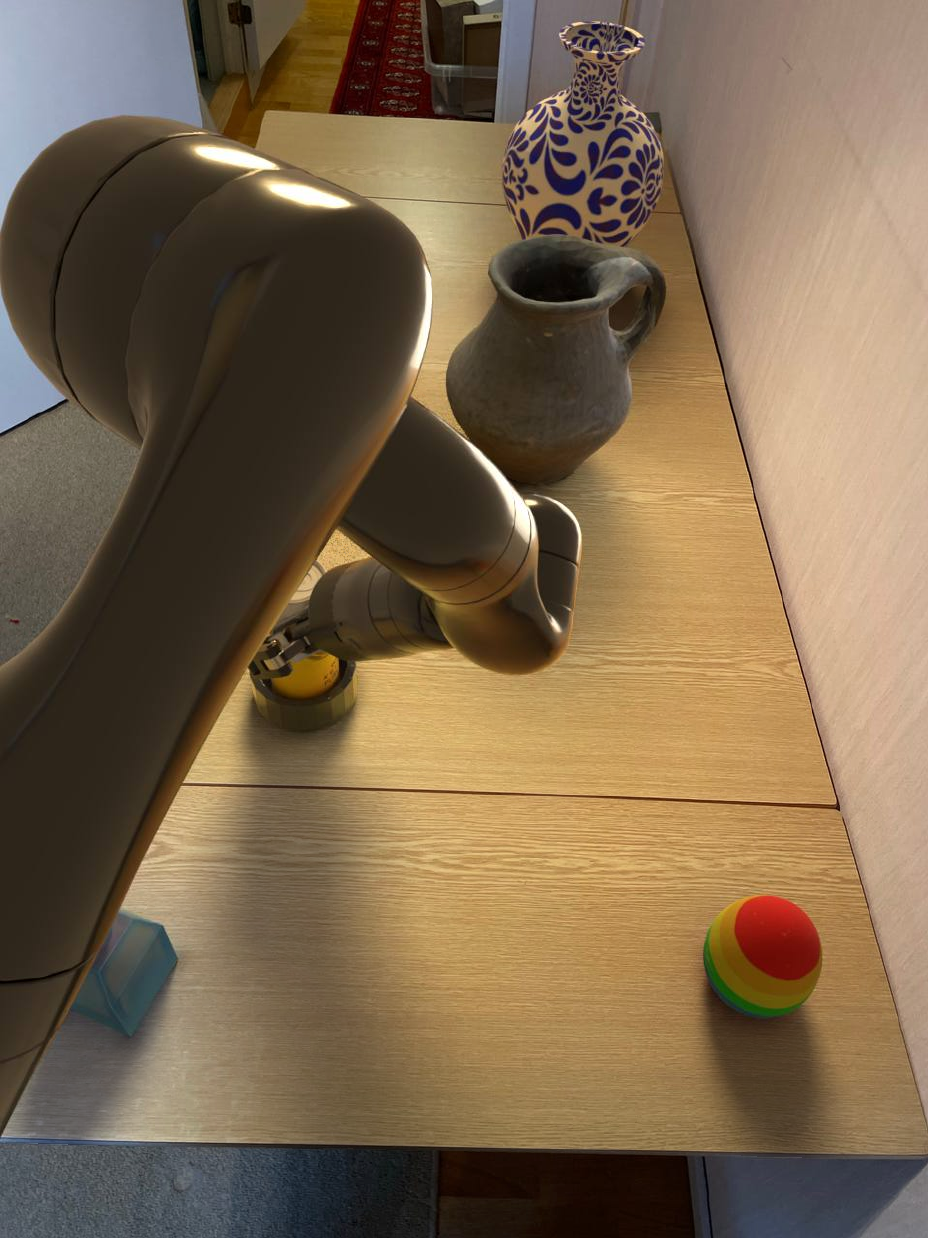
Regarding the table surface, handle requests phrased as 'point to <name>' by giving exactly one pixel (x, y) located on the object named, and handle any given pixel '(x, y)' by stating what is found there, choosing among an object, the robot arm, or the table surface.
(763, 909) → the striped foam ball
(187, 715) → the robot arm
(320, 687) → the beer can
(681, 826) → the table surface
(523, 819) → the table surface
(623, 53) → the vase
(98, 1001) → the perfume bottle
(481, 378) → the pitcher
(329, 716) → the round brown bowl
